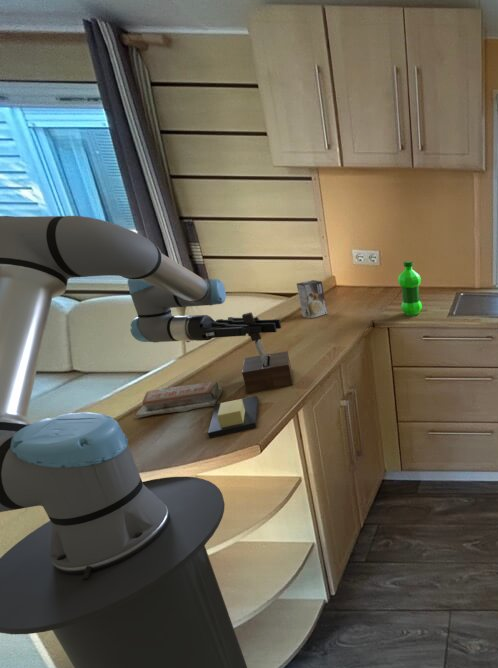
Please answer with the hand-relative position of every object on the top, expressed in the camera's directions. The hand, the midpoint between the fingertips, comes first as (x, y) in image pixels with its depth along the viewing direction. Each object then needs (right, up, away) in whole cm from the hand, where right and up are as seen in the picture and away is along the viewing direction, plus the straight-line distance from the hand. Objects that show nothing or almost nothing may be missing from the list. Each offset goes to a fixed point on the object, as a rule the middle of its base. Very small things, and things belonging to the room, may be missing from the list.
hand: (277, 325), depth 121 cm
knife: (-5, -14, +5) cm, 16 cm away
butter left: (-3, -25, -18) cm, 31 cm away
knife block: (-5, -17, +6) cm, 19 cm away
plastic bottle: (+24, +9, +74) cm, 79 cm away
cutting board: (-3, -25, -14) cm, 29 cm away
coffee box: (-22, +8, +72) cm, 76 cm away
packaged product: (-23, -23, -7) cm, 33 cm away
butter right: (-1, -25, -17) cm, 30 cm away
